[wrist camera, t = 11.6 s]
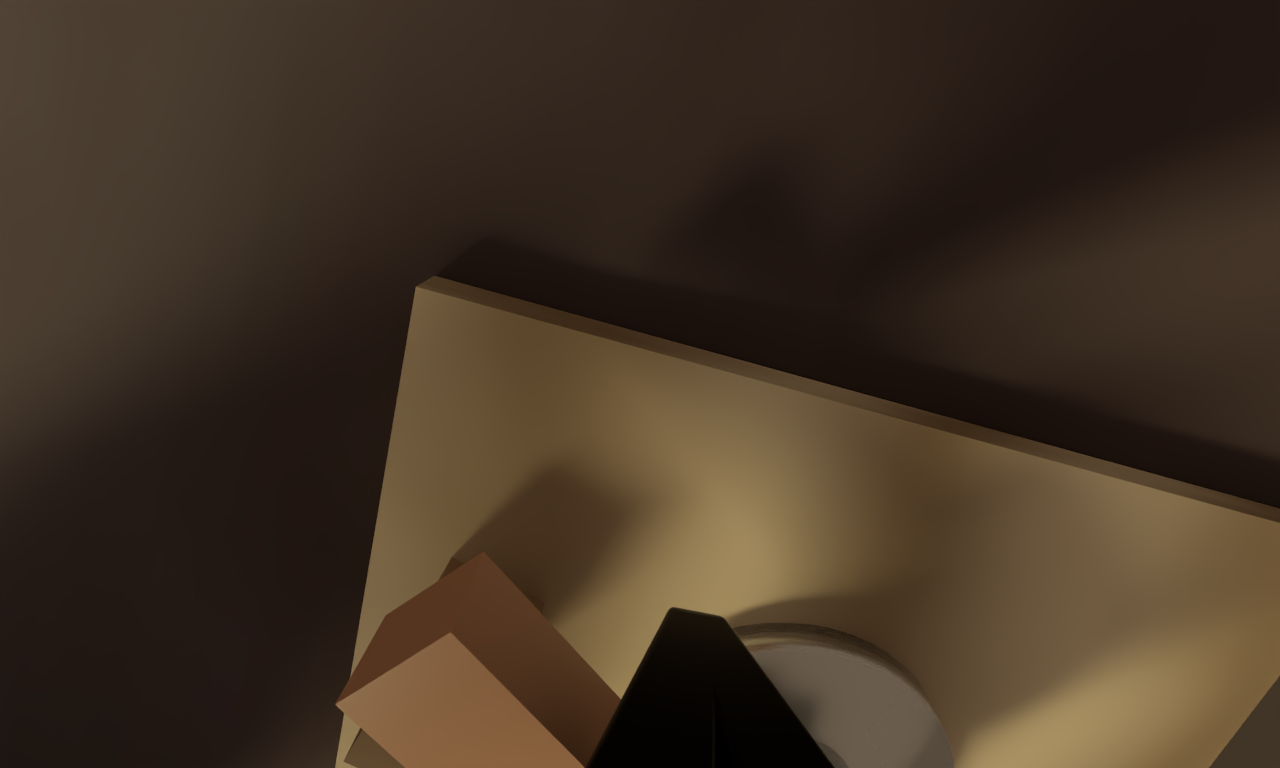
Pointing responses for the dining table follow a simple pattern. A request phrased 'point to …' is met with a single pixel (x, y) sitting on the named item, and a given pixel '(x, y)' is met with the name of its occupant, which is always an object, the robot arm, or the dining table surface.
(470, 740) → the cap
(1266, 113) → the dining table surface
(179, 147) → the dining table surface
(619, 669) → the board
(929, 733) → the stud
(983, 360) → the dining table surface
